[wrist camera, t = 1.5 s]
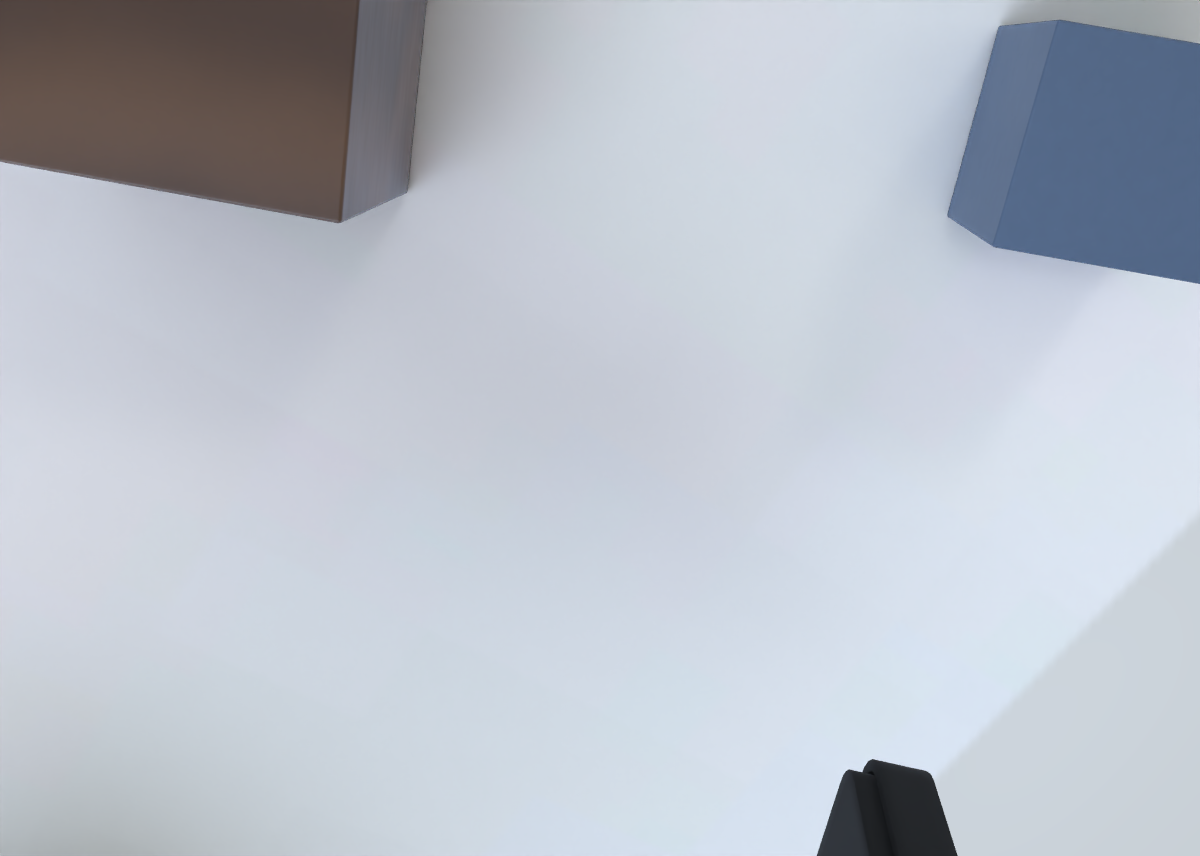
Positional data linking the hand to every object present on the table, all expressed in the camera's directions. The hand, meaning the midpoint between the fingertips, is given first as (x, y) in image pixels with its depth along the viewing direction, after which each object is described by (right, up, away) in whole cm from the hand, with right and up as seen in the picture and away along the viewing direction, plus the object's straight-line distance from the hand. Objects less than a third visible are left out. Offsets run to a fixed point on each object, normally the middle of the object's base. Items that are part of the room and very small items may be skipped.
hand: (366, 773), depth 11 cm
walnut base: (-7, +15, +19) cm, 25 cm away
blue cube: (+15, +11, +18) cm, 26 cm away
